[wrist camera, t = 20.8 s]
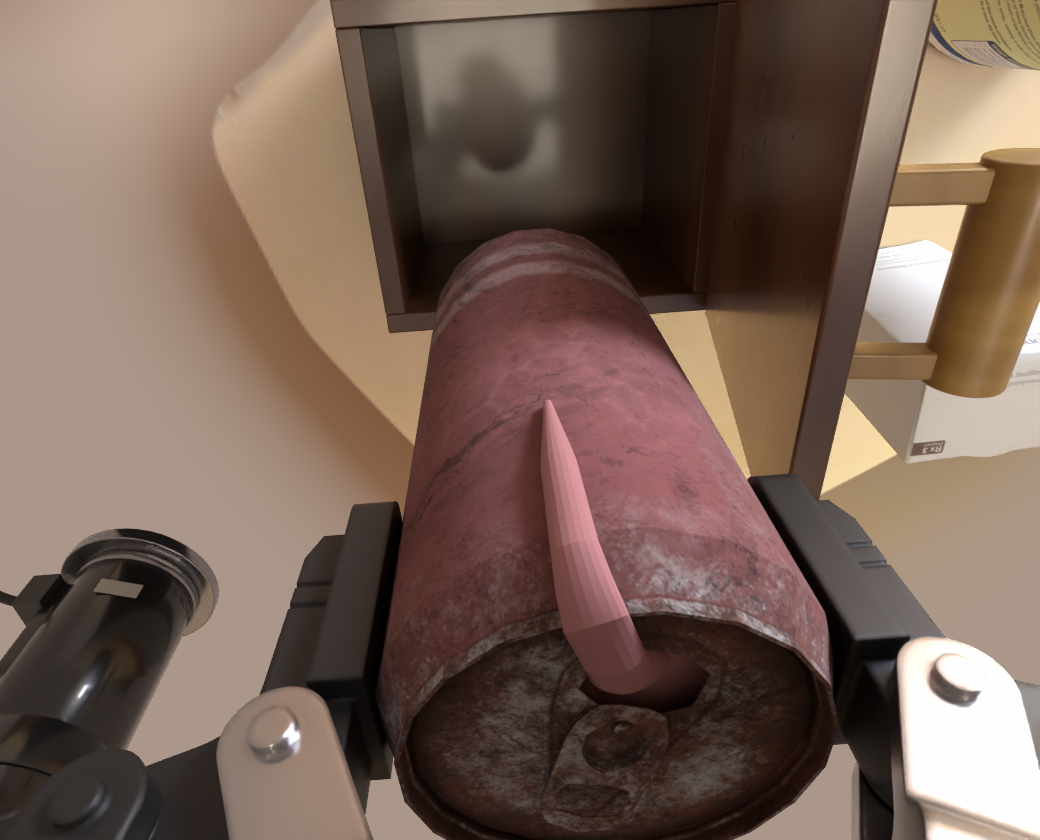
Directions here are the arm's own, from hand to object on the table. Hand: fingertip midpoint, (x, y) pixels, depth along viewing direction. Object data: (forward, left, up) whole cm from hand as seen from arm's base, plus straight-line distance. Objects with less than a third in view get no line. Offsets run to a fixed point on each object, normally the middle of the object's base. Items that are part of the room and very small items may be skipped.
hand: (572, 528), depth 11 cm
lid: (+7, +2, -11) cm, 13 cm away
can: (0, 0, -10) cm, 10 cm away
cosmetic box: (+22, -9, -31) cm, 39 cm away
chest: (+1, +2, -31) cm, 31 cm away
